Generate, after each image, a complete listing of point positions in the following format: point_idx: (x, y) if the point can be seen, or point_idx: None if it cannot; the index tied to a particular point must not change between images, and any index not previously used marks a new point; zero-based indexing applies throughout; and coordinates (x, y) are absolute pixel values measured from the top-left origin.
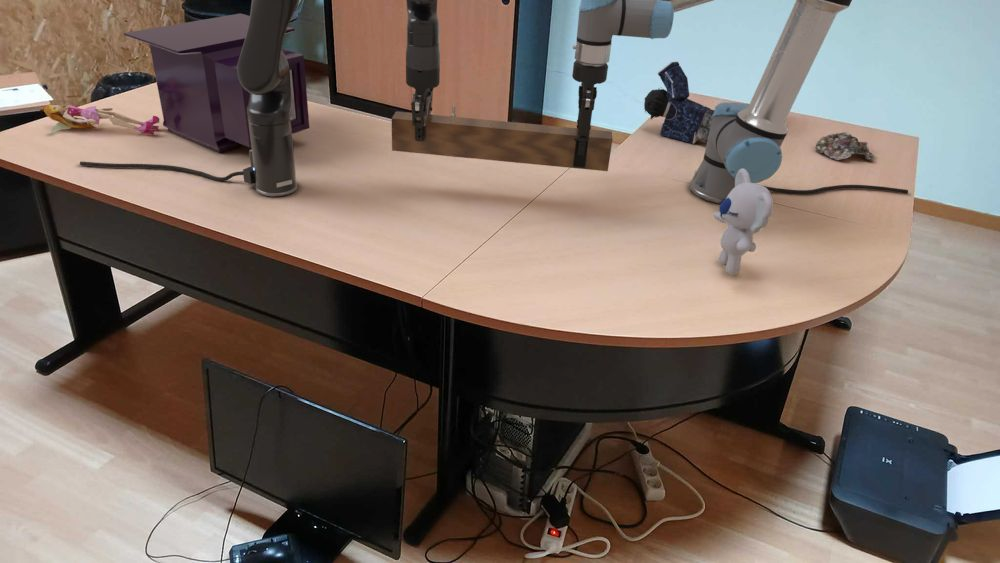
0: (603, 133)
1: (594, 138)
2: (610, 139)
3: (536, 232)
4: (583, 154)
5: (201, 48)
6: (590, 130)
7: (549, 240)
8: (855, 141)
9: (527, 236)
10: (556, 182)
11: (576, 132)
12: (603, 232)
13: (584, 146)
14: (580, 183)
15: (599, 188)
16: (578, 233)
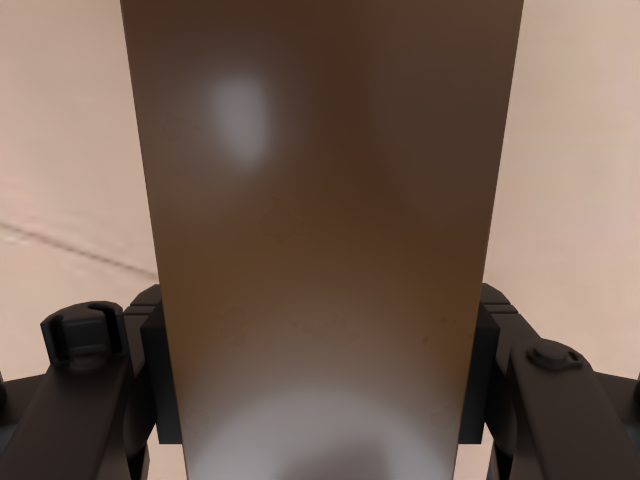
0: (276, 136)
1: (477, 269)
2: (515, 13)
3: (568, 309)
4: (493, 291)
5: None
6: (210, 326)
7: (628, 266)
8: None
9: (597, 334)
10: (123, 256)
11: (343, 477)
12: (566, 56)
13: (534, 335)
14: (91, 155)
15: (112, 63)
16: (576, 164)
